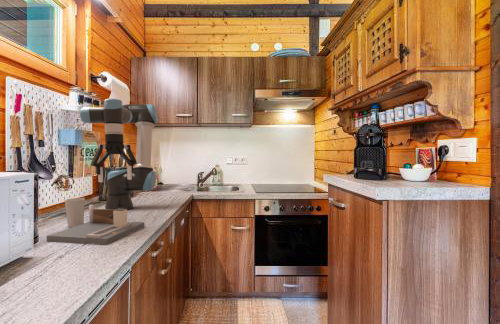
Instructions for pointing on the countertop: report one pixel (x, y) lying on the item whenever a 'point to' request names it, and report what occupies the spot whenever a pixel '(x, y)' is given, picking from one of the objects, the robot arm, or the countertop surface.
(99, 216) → the door
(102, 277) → the countertop surface
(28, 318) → the countertop surface
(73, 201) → the cup
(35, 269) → the countertop surface
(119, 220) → the fader knob
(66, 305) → the countertop surface
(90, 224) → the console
